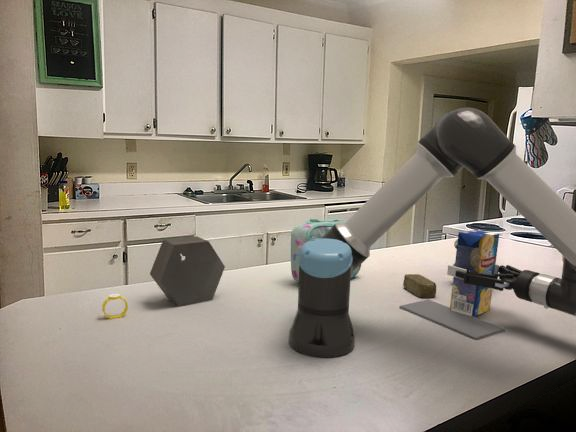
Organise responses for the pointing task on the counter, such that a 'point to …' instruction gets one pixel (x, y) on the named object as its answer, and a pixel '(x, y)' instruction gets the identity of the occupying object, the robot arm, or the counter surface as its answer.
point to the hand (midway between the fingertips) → (463, 267)
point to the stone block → (419, 285)
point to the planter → (187, 270)
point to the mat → (453, 319)
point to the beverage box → (479, 259)
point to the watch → (113, 297)
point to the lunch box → (309, 233)
